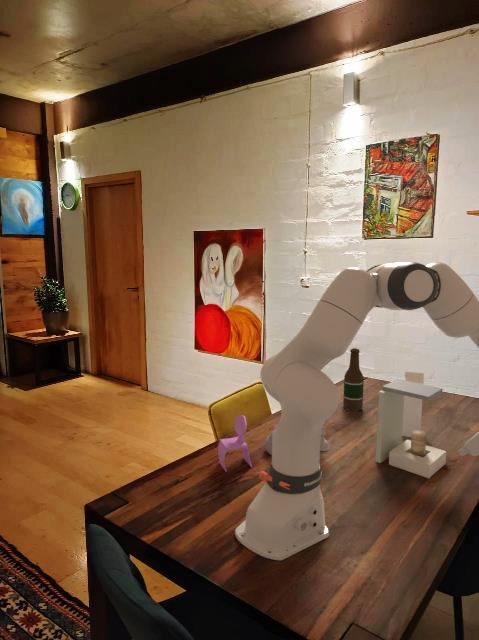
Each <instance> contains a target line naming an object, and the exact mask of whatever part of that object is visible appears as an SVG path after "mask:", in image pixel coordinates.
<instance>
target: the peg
mask: <svg viewBox="0 0 479 640" xmlns="http://www.w3.org/2000/svg"><path fill="white" fill-rule="evenodd" d="M410 438H411V439H410V440H411V454H414V455H417V456H420V457H425V446H426V445H427V444H426V443H427V432H426V431H424V430H413V431H412V437H410Z"/></svg>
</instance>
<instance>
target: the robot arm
mask: <svg viewBox="0 0 479 640" xmlns="http://www.w3.org/2000/svg"><path fill="white" fill-rule="evenodd" d="M374 308H381V309H383V308H384V309H388V310H391V311H392V310H393V311H414V310H415V311H416V310H419V309H421V308H423V309H424V311H425V312H426V314H427V316H428V317H429V318H430V320H431V321H432V322H433V323H434V325H435V326H436V327H437V329H439V330H440V331H441V332H442V333H443V334H444V335H446V336H447V337H450V338H454V339H455V338H457V339H459V338H464V337H465V338H466V337H469V338H470V340H471V341H472V342H473V343H474V344H475V346H477V348H478V349H479V299H478V298H477V296H476V295H475V293H474V292H473V290H472V289H471V287H470V286H469V285H468V284H467V283H466V282H465V280H463V278H462V277H461V276H460V275H459V274H458V273H457V272H456V271H454V269H453V268H451V267H450V266H449V265H448V264H446V263H443V262H431V263H428V264H427V265H426V264H425V265H424V264H423V263H419V262H415V261H405V262H404V261H403V262H401V261H400V262H399V261H392V262H388V263H383V264H377V265H374V266H372V267H370V268H369V269H366V270H365V269H363V268H359V267H354V266H352V267H346V268H344V269H343V270H342V271H340V272H339V274H338V275H337V276H336V277H335V278H334V279H333V281H332V282H331V283H330V284H329V286H328V287H327V288H326V290H325V291H324V292H323V294H322V295H321V296H320V299H319V300H318V302H317V304H316V305H315V307H314V309H313V311H312V312H311V313H310V315H309V317H308V319H307V320H306V322H305V323H304V325H303V326H302V327H301V329H300V330H299V332H298V333H297V334H296V335H295V336H294V338H292V340H291V341H289V342H288V343H287V344H286V346H284V348H283V349H281V351H279V352H278V353H277V354H275V355H272V356H270V357H269V358H267V360H266V361H265V362H264V363H263V364H262V366H261V370H260V380H261V383H262V385H263V387H264V389H265V391H266V392H267V394H268V395H269V396H270V397H272V398H273V399H274V400H276V401H277V402H278V403H279V404H280V409H281V413H280V414H281V415H280V419H279V422H278V424H277V426H276V427H275V428H274V429H273V431H272V432H273V434H272V455H271V462H270V465H269V467H268V472H266V471H264V470H262V471H260V473H259V476H258V477H259V478H258V479H259V480H260V481H264V482H265V483H264V485H263V486H262V487H261V489H259V492H258V493H257V494H256V495H255V497H254V499H253V500H252V501H251V503H250V504H249V506H248V507H247V509H246V515H245V519H244V520H243V521H242V522H241V523H240V524H239V525H238V526H237V527H236V528H235V529H234V531H235V532H234V535H235V538H236V539H237V540H238V542H239V543H241V545H243V546H244V547H245V548H247V549H248V550H250V551H251V552H253V553H255V554H256V555H259V556H261V557H263V558H265V559H270V560H275V561H283V560H285V559H287V558H289V557H292V556H293V555H296V554H297V553H299V552H301V551H303V550H305V549H307V548H310V547H311V546H313V545H315V544H317V543H319V542H322V541H323V540H325V539H327V538H329V536H330V530H329V528H328V526H327V525H326V516H325V515H326V512H325V500H324V496H323V493H322V490H321V486H320V485H321V482H322V476H323V475H322V467H321V466H322V465H321V464H320V455H321V451H320V438H321V433H322V429H323V426H324V427H325V423H326V422H325V421H326V420H327V419H328V420H329V418H331V417H332V416H333V415H334V414H335V413H336V411H337V410H338V407H339V403H340V398H341V397H340V391H339V388H338V387H337V385H336V383H335V382H333V380H332V379H331V378H330V377H329V376H328V375H327V374H326V373H325V372H324V371H322V370H323V368H325V367H326V366H327V365H328V364H329V363H330V362H331V361H333V360H335V359H337V358H340V357H341V356H343V355H344V354H345V353H346V352H347V351H348V349H349V347H350V345H351V344H352V343H353V340H354V338H355V337H356V336H357V333H358V332H359V330H360V329H361V327H362V325H363V324H364V321H365V320H366V318H367V316H368V315H369V313H370V312H371V311H372V310H373V309H374ZM328 420H327V421H328ZM457 453H458V454H459V455H460V456H461V457H463V456H465V455H467V454H470V455H471V456H473V457H476V456H479V431H478V432H476V433H475V434H474V435H473V436H472V437H470V438H469V439H468V440H467V441H466V442H465V443H464V446H462V447H460V448H459V449H458V450H457Z"/></svg>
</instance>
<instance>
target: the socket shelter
mask: <svg viewBox="0 0 479 640" xmlns="http://www.w3.org/2000/svg"><path fill="white" fill-rule="evenodd" d="M443 390H444V389H443V387H442V388H441V387H436V386H432V385H428V384H424V385H423V384H419V383H414V382H409V381H405V379H404V380H403V379H399V378H397V379H395V380H393V381H391V382H389V383H386V384H384V385H382V390H380V391H378V406H377V425H376V444H375V445H376V447H375V448H376V449H375V462H376V463H379V464H381V463H383V462H384V461H385V460H387V459H388V466H389V465H390V466H392V467H394V468H398V469H402V470H404V471H407V472H410V473H412V474H416V475H418V476H420V477H424V478H426V479H430V478H431V477H432V476H434V474H436V473H437V472H438V471H439V470H440V469H442V467H443V466H445V465H446V461H447V460H446V459H447V451H446V450H443V449H440V448H437V447H434V446H431V445H427V444H426V446H425V457H420V456H417V455H414V454H411V439H406V440H405V441H403V436H402V428H403V411H404V395H405V396H409V397H414V398H418V399H422V400H423V401H426V402H429V401H431V400H432V399H434V398H436V397H437V396H439V395H441V394H442V393H443Z"/></svg>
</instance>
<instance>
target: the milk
mask: <svg viewBox="0 0 479 640" xmlns="http://www.w3.org/2000/svg"><path fill="white" fill-rule="evenodd" d="M424 377H425V374H424V373H423V372H418V371H417V372H413V371H405V372H404V381H409V382H414V383H419V384H423V385H425V384H424V380H425V379H424ZM423 401H424V400H422V399H418V398H414V397H409V396H405V395H404V411H403V428H402V437H407V438H411V437H412V431H413V430H421V429H422V413H423ZM421 431H422V430H421Z"/></svg>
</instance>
